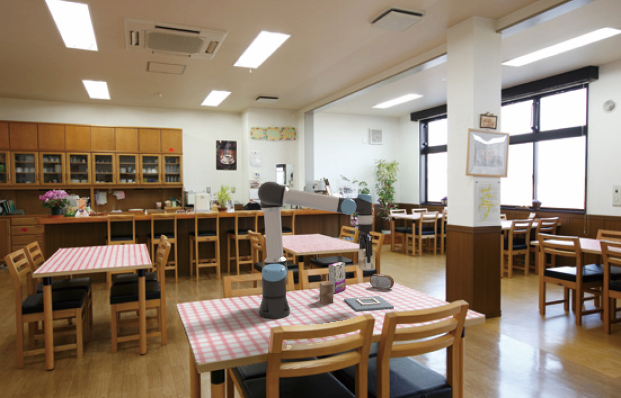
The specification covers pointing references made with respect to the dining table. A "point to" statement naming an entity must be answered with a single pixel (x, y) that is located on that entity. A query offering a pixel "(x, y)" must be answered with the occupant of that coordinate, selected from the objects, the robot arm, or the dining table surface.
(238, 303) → the dining table surface
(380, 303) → the square frame
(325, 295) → the walnut block
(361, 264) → the birch block
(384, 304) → the baseboard
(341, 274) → the candy bar box
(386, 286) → the tin
